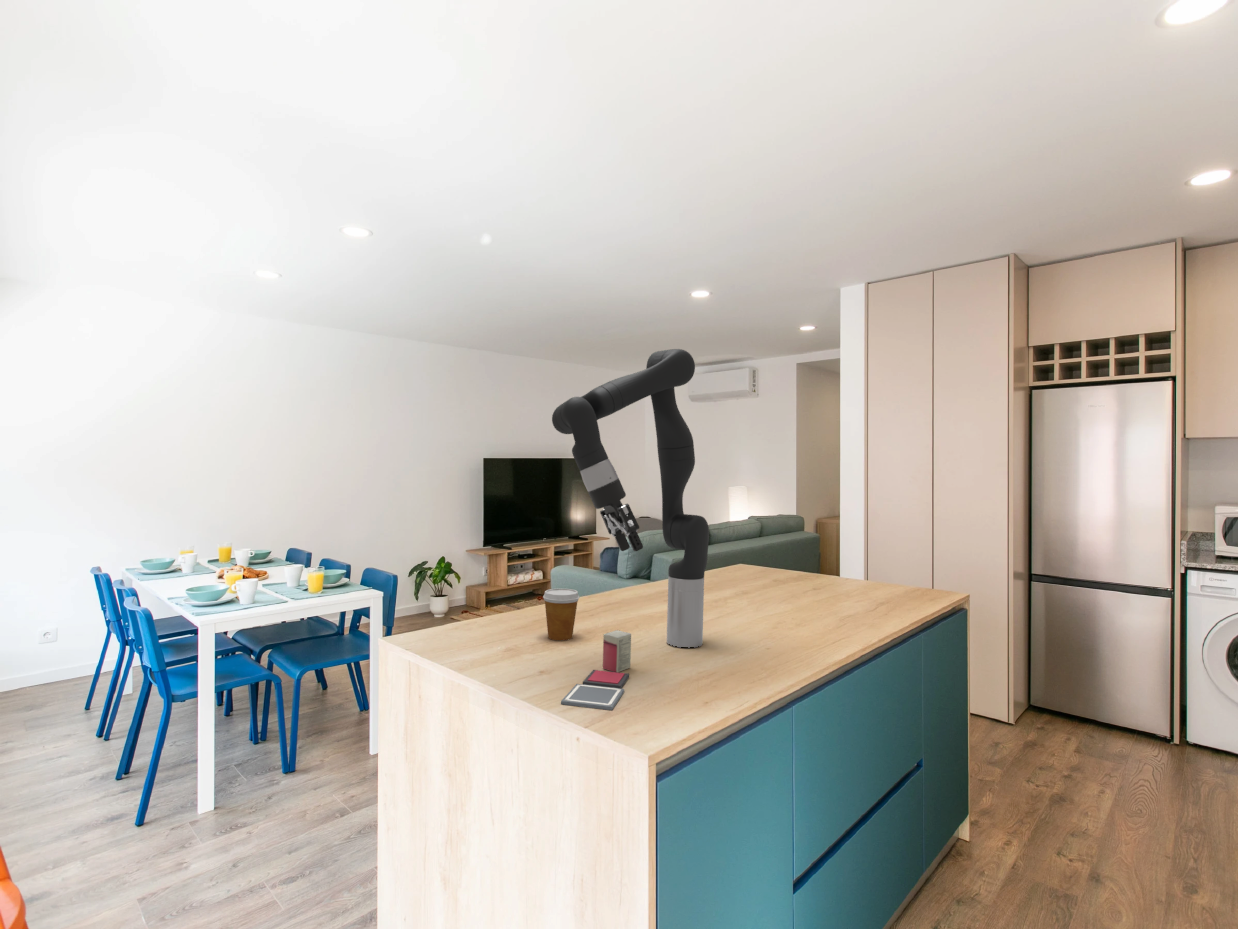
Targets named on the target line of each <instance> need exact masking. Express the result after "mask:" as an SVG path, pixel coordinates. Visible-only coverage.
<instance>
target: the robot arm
mask: <svg viewBox="0 0 1238 929" xmlns="http://www.w3.org/2000/svg"><path fill="white" fill-rule="evenodd" d="M695 363H696V362H695V360H694V357H693V356H692V355H691V353H690V352H688V351H687V350H685V349H680V348H673V349H665V350H658V351H655V352H653V353H651V355H649V357H648V359H647V361H646V367H645V369H642V370H640V371H637V372H633V373H630V374H626V375H623V376H620V377H617V378H614V379H612V380H609V381H607V382H605V383H602V384H601V385H599V386H596V387H595V388H593V389H591V390H590V391H588V392H586V394H584V395H582V396H574V397H573V396H572V397H571V398H569V399H567V400H566V401H564V402H563V403H561V404H559V405H558V406H557V407H556V408H555V409H554V411H553V412H552V414H551V415H552V416H551V423H552V425H553V428H554V429H555V430H556V431H557V432H559V433H560V434H563V435H572V436H573V440H574V444H573V446H572V449H571V453H572V457H573V458H574V461H575V463H576V467H577V468H578V470H579V473H580V476H581V479H582V482H583V484H584V486H585V488H586V490H587V493H588V496H589V497H590V500H591V502H592V504H593V507H594V508H595V509H596V510H600V509H602V510H600V511H599V514H600V515H601V518H602V520H603V523H604V526H605V527H606V530H607V532H608V534H609V535H611V536H612V537H614V539H615V541H616V543H617V546H618V548H619V549H620V552H624V551H627V550H628V549H630V548H632V550H633V551H634V552H639V551H640V550H642V549H643V548H644V545H643V543H642V540H641V539H640V536H639V534H638V530H639V529H640V525H639V523H638V522H637V519H636V517H635V515H634V512H633V510H632V508H631V506H630V504H629V503H625V504H623V503H622V501H621V500H622V499H624V498H625V497H626V495H627V494H626V491H625V489H624V487H623V485H622V483H621V481H620V480H621V479H620V478H619V476H618V474H617V471H616V469H615V466H614V465H613V464H612V462H611V460H610V459H609V456H608V454H607V452H606V450H605V447H604V446H603V445H604V444H603V443H602V440H601V433H600V429H599V424H598V420H602V419H603V418H606V417H608V416H611V415H612V414H613V415H614V414H615V413H616V412H619V411H621V410H623V409H624V408H626V407H628V406H630V405H633V404H634V403H636V402H639V401H641V400H643V399H645V398H647V397H650V399H651V405H652V411H653V417H654V424H655V425H654V427H655V432H656V433H655V434H656V446H657V457H658V458H657V459H658V464H659V472H660V486H661V502H662V503H661V504H662V505H661V506H662V507H661V509H662V511H661V516H662V517H661V519H662V520H661V522H662V536H663V540H664V542H665V544H666V546H668V547H669V548H671V549H675V550H682V551H684V552H683V553H684V554H683V558H682V559H681V560H680V561H677V562H674V563H671V564H670V565H669V566H668V572H667V573H668V578H667V612H666V613H667V620H666V621H667V622H666V644H668V645H669V644H670V645H669V646H672V645H673V646H672V647H675V646H677V647H676V648H681V647H688V648H687V649H691V648H690V647H694V648H699V647H701V646H703V636H704V635H703V634H704V600H705V599H704V596H705V591H704V590H705V573H706V572H705V571H706V568H707V566H708V565H707V564H708V554H709V542H710V528H709V527H710V526H709V524H708V521H707V519H706V518H705V517H704V516H702V515H697V514H689V513H688V514H687V513H685V512H684V505H683V503H684V502H683V500H684V498H683V497H684V492H685V489H686V486H687V484H688V482H689V481H690V478H691V476H692V474H693V472H694V468H695V463H696V456H695V447H694V437H693V435H692V432H691V430H690V428H689V426H688V425H687V423H686V420H685V419H684V418H683V415H682V414H681V412H680V410H679V408H678V407H679V406H678V405H677V404H678V403H677V400H676V399H677V398H676V393H675V392H676V391H675V388H676V387H677V388H678V387H681V386H685V385H686V384H687V383H689V382H690V381H691V379H692V378H693V377H694V374H695V371H696V364H695ZM630 546H631V547H630ZM698 646H699V647H698Z"/></svg>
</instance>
